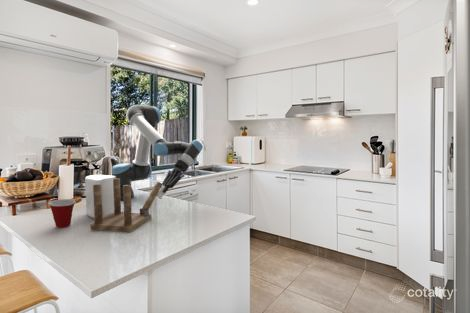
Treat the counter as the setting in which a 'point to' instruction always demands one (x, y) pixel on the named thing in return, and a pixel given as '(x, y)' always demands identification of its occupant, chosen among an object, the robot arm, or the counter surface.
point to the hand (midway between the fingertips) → (158, 197)
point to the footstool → (116, 211)
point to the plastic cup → (62, 212)
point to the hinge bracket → (144, 212)
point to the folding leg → (152, 196)
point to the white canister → (106, 194)
